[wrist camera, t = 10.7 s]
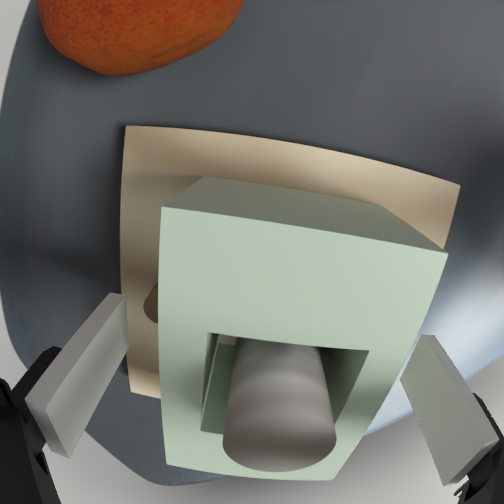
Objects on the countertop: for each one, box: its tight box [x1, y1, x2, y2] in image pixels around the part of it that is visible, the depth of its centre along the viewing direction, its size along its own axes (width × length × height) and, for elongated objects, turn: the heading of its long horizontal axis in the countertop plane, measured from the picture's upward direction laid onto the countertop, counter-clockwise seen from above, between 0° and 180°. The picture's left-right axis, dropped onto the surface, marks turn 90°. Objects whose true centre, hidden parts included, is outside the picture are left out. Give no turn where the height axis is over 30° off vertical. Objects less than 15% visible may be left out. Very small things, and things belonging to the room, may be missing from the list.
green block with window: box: [158, 176, 448, 480], centre depth 13 cm, size 12×8×6 cm, turn 172°
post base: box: [120, 126, 460, 472], centre depth 13 cm, size 16×16×10 cm
